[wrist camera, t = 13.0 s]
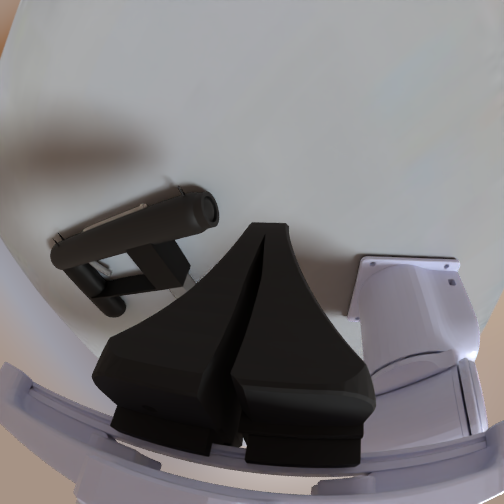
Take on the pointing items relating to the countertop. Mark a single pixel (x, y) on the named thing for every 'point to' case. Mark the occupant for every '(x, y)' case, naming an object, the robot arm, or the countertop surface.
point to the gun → (137, 249)
